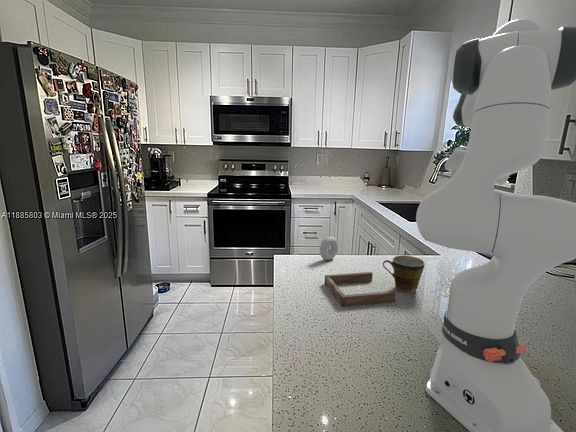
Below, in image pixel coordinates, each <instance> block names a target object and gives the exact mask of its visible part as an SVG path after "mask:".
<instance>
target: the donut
mask: <svg viewBox="0 0 576 432" xmlns="http://www.w3.org/2000/svg"><path fill="white" fill-rule="evenodd" d="M329 246H330V247H329ZM338 250H339V243H338V240H337V239H336V238H335V237H334V236H326V237H325V238H324V239H323V240H322V241H321V243H320V245H319V255H320V257H321V258H322V259H324V260H325V261H331V260H333V259H334V258H335V257H336V255H337V254H338Z"/></svg>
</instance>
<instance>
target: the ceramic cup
mask: <svg viewBox="0 0 576 432" xmlns="http://www.w3.org/2000/svg"><path fill="white" fill-rule="evenodd" d="M385 263H388V264H390V265H391V267H392V269H393V273H392V272H391V271H390V270H389V269H388V268H387V267H386V266H385ZM425 264H426V263H425V261H424V260H423V259H422V258H419V257H415V256H412V255H396V256H394V257H392V261H391V260H388V259H386V260H384V261H383V262H382V267H383V268H384V269H385V270H386V271H388V273H389V274H390V275H391V276H392V278H393V279H394V287H395V289H396V290H397V291H399V292H402V293H407V294H412V293H414V292H415V293H416V291H417V289H418V288H419V284H420V280H421V277H422V274H423V271H424V268H425V266H426V265H425Z"/></svg>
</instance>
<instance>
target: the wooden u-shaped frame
mask: <svg viewBox="0 0 576 432" xmlns="http://www.w3.org/2000/svg"><path fill="white" fill-rule="evenodd" d="M373 275H374V274H373V272H372V271H364V272H363V271H362V272H351V273H340V274H339V273H337V274H326V275H324V284H325V286H326V287H327V289H328V290H329V292H330V293H331V295H333V296H334V298H335V299H336V301H337V302H338V304H339V305H340V306H341V307H354V306H363V305H373V304H383V303H384V304H385V303H392V302H394V303H395V302H396V292H395V291H394V290H388V291H376V292H366V293H364V292H363V293H355V294H353V293H352V294H344V292H343V291H342V290H341V289H340V287H339V286H338V285H339V284H340V285H341V284H342V285H343V284H350V283H351V284H352V283H364V282H365V283H366V282H373Z"/></svg>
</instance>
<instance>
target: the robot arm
mask: <svg viewBox="0 0 576 432" xmlns="http://www.w3.org/2000/svg"><path fill="white" fill-rule="evenodd" d="M449 67H450V69H449V76H450V81H451V84H452V87H453V88H452V89H454V90H455V91H456V92H457V93H459V94H460V96H459V99H458V101H457V103H456V105H455V107H454V110H453V115H452V119H453V121H454V124H456V126H458V127H463V128H468V129H470V131H469V132H470V133H469V138H468V143H467V147H466V146H463V145H460V146H457V147H455V148H454V149H453V151H452V153H451V154H450V156H449V157H448V159H447V160H446V162H445V164H444V168H445V170H447V171H449V172H450V179H448V180H447V181H446V182H445V183H444V184H443V185H440V186H439V187H438V188H437V189H435V190H433V191H431V192H430V193H428V194H427V195H426V196H425V197H424V198H423V199H422V200H421V202H420V203H419V205H418V207H417V209H416V215H415V221H416V222H415V223H416V227H417V229H418V230H417V231H418V232H419V234H420V235H421V237H422V238H423V239H424V240H425V241H427V242H430V243H433V244H435V245H438V246H441V247H443V248H444V247H445V248H449V249H452V250H460V251H466V252H473V253H480V254H482V253H483V254H486V255H491V256H492V258H491V259H490V260H489V261H487V262H486V263H484V264H481V265H479V266H474V267H469V268H467V269H464V270H461V271H460V272H458V273H457V274H456V275H455V276H454V277H453V278H452V279H451V282H450V287H449V295H448V303H447V309H446V311H445V312H444V314H443V319H442V322H441V324H442V327H441V332H442V334H443V335H442V338H441V341H440V344H439V347H438V350H437V352H436V354H435V359H434V363H433V365H432V366H431V368H430V370H429V379H428V381H427V382H426V384H425V385H426V386H425V392H426V394H427V395H428V396H430V397H431V398H432V399H433V400H435V402H436V403H438V404H439V405H440V406H441V407H442V408H444V410H445V411H446V412H448V413H449V415H451V416H452V417H453V418H455V420H457V421H458V422H459V423H460V424H461V425H462V426H463V427H464V428H466V429H467V431H469V432H564V430H563V429H562V428H561V427H560V426H559V425H558V424H557V423H556V422H555V421H554V420H553V419H552V407H551V401H550V399H549V397H548V395H547V394H546V392H545V391H544V389H542V387H541V382H540V380H539V379H538V378H537V377H536V376H534V375H533V374H532V372H531V371H530V369H529V368H528V366H527V365H526V363H525V362H524V361H523V359H522V358H521V354H523V353H527V352H528V350H526V349H528V345H521V346H520V344H519V340H518V335H517V331H516V324H517V319H518V315H519V313H520V312H519V310H520V308H521V305H522V302H523V299H524V296H525V295H526V292H527V291H528V289H529V288H530V287H531V285H532V284H533V283H534V282H535V281H536V280H537V279H539V278H540V277H541V276H542V275H544V274H545V273H546V272H548V271H550V270H551V269H553V268H555V267H558V266H559V265H562V264H564V263H569V262H571V261H573V260H575V259H576V202H573V201H570V200H565V199H563V198H558V197H557V198H556V197H552V196H549V195H548V196H547V195H537V194H536V195H535V194H525V193H524V194H522V193H510V192H509V193H508V192H500V191H495V189H494V187H495V185H498V186H502V185H505V184H506V182H507V181H508V180H509V177H510V176H511V175H513V174H516V173H519V172H522V171H524V170H526V169H529V168H531V167H532V166H534V165H535V164H537V162H539V160H540V159H541V158H543V156H544V152H545V148H546V142H547V134H548V126H549V118H550V111H551V102H552V91H554V90H558V89H563V88H565V87H569V86H571V85H572V84H573V83H575V82H576V26H575V27H573V26H561V27H560V28H558V29H557V28H556V29H555V28H552V29H550V28H549V29H542V28H541V27H540V26H539V24H538V23H537V22H535V21H533V20H531V19H525V18H522V19H515V20H511V21H509V22H506V23H505V24H504V25H501V27H499V28H498V29H497V30H496V31H495V32H494V33H493V35H492V36H488V37H485V38H481V39H480V38H475V39H471V40H468V41H466V42H464V43H462V44H461V45H460V46H459V47H458V48H457V50H456V51H455V54H454V56H453V59H452V61H451V64H450V66H449Z"/></svg>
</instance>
